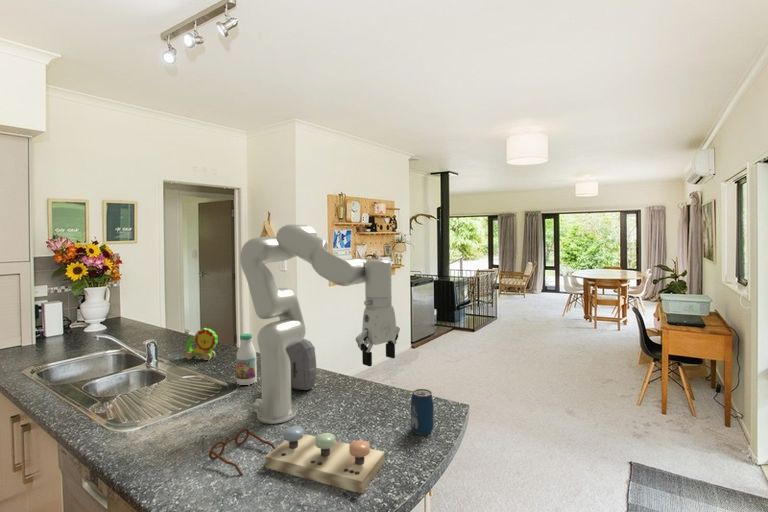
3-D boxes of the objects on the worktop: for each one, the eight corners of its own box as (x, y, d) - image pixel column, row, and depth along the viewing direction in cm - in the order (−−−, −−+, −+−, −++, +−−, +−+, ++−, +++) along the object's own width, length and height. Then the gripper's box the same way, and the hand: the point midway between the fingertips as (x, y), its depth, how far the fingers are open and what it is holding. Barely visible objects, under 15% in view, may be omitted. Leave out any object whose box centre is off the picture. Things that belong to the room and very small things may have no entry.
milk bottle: (239, 379, 169) (238, 332, 168) (258, 379, 170) (257, 332, 169) (234, 386, 162) (233, 337, 160) (254, 386, 162) (253, 336, 161)
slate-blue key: (279, 439, 109) (279, 433, 109) (291, 430, 114) (291, 424, 114) (295, 442, 107) (295, 436, 107) (306, 433, 112) (306, 428, 112)
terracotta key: (345, 454, 101) (345, 448, 101) (355, 444, 106) (355, 438, 106) (364, 458, 99) (364, 452, 99) (373, 448, 104) (373, 442, 104)
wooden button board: (265, 467, 106) (264, 451, 105) (296, 442, 119) (296, 427, 118) (362, 493, 95) (362, 476, 95) (384, 462, 108) (384, 447, 108)
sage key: (311, 446, 105) (311, 440, 105) (321, 437, 110) (321, 431, 110) (329, 450, 103) (328, 444, 103) (338, 440, 108) (338, 435, 108)
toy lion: (184, 359, 196) (183, 328, 195) (191, 356, 201) (190, 326, 201) (213, 361, 193) (213, 330, 192) (220, 358, 198) (219, 327, 198)
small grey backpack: (320, 389, 159) (319, 338, 158) (305, 396, 152) (304, 343, 151) (292, 381, 167) (291, 333, 166) (277, 387, 160) (276, 338, 159)
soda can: (435, 427, 128) (435, 389, 127) (430, 437, 122) (430, 398, 121) (414, 423, 130) (414, 387, 130) (408, 433, 124) (408, 395, 123)
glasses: (247, 441, 120) (247, 425, 119) (279, 453, 113) (279, 436, 113) (208, 463, 108) (207, 445, 108) (241, 478, 102) (241, 459, 102)
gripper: (366, 308, 108) (367, 371, 108) (407, 300, 120) (408, 357, 121) (347, 305, 113) (348, 365, 114) (389, 297, 125) (389, 352, 126)
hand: (379, 361), depth 117 cm, fingers open, 9 cm apart
